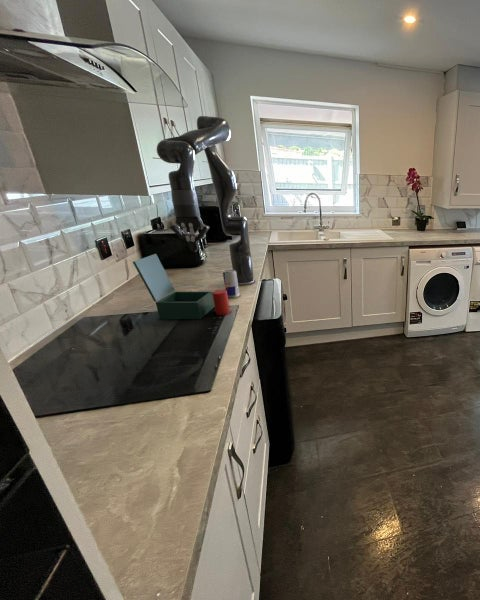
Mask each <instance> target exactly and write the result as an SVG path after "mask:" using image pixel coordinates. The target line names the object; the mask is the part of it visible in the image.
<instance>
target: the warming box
mask: <svg viewBox="0 0 480 600" xmlns="http://www.w3.org/2000/svg"><path fill="white" fill-rule="evenodd" d="M212 292H213V291H184V290H183V291H179V290H178V291H176V290H174V291H173V292H171V293H169V294H167V295H166V296H164V297H162V298H161V299H159V300H157V301H155V305H156V311H157V313H158V314H157V315H158V317H159V320H202V318H204V317H205V316H206V315H207V314H209V312H211V311H212V310H213V309H215V305H214V300H213V294H212Z"/></svg>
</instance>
